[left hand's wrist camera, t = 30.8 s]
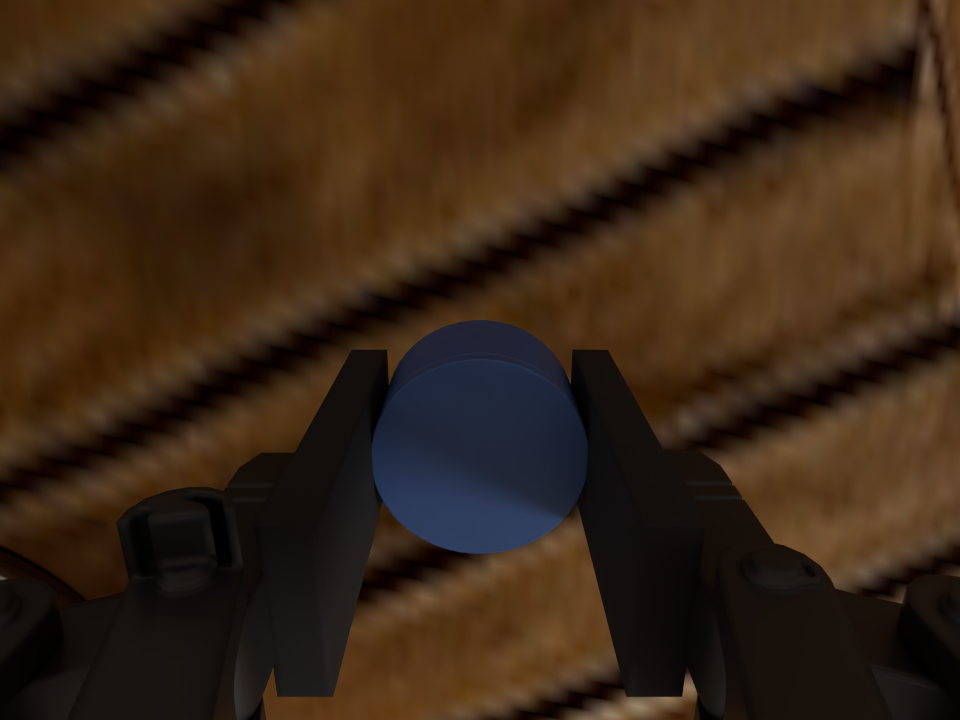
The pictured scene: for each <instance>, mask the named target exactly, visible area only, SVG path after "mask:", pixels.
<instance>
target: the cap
mask: <svg viewBox="0 0 960 720" xmlns="http://www.w3.org/2000/svg"><path fill="white" fill-rule="evenodd" d="M371 448H372V465H373V479H374V483H375V485H376V488H377V491H378V493H379V495H380V497H381V499H382V500H383V502H384V504H385V506H386V507H387V508H388V510H389V511H390V512H391V514H392V515H393V516H394V517H395V518H396V519H397V520H398V521H399V522H400V523H401V524H402V525H403V526H404V527H406V528H407V529H408V530H409V531H411V532H412V533H413V534H415V535H417V536H418V537H420V538H421V539H423V540H425V541H427V542H430V543H432V544H434V545H436V546H439V547H442V548H445V549H449V550H453V551H458V552H465V553H495V552H502V551H506V550H511V549H515V548H518V547H520V546H523V545H526V544H528V543H530V542H532V541H534V540H536V539H538V538H540V537H542V536H543V535H545V534H546V533H548V532H549V531H551V530H552V529H553V528H554V527H555V526H557V525H558V524H559V523H560V522H561V521H562V520H563V519H564V518H565V517H566V516H567V514H568V513H569V512H570V511H571V509H572V508H573V506H574V505H575V504H576V502H577V500H578V498H579V496H580V494H581V492H582V490H583V487H584V485H585V482H586V473H587V458H588V438H587V434H586V429H585V426H584V423H583V420H582V417H581V415H580V412H579V409H578V406H577V403H576V400H575V397H574V394H573V391H572V388H571V385H570V382H569V380H568V377H567V375H566V372H565V370H564V368H563V367H562V365H561V363H560V362H559V360H558V359H557V357H556V356H555V355H554V354H553V352H552V351H551V350H550V349H549V348H548V347H547V346H546V345H545V344H544V343H543V342H541V341H540V340H538V339H537V338H536V337H534V336H533V335H531V334H529V333H527V332H526V331H524V330H522V329H519V328H517V327H514V326H512V325H508V324H504V323H500V322H494V321H486V320H479V321H466V322H459V323H455V324H452V325H448V326H445V327H443V328H440V329H438V330H436V331H434V332H432V333H430V334H429V335H427V336H425V337H424V338H423V339H421V340H420V341H419V342H417V343H416V344H415V345H414V346H413V347H412V348H411V349H410V350H409V351H408V352H407V353H406V354H405V356H404V357H403V358H402V360H401V361H400V363H399V364H398V366H397V368H396V370H395V372H394V374H393V377H392V379H391V382H390V385H389V388H388V390H387V393H386V396H385V399H384V402H383V405H382V408H381V411H380V414H379V417H378V420H377V423H376V426H375V428H374V432H373V436H372V441H371Z"/></svg>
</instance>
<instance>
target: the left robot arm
mask: <svg viewBox="0 0 960 720" xmlns="http://www.w3.org/2000/svg"><path fill="white" fill-rule="evenodd" d="M388 388H389V380H388V360H387V350H352V351H351V352H350V354H349V356H348V358H347V360H346V361H345V363H344V365H343V367H342V369H341V370H340V372H339V374H338V376H337V378H336V379H335V381H334V383H333V385H332V387H331V388H330V390H329V392H328V394H327V396H326V397H325V399H324V401H323V403H322V405H321V406H320V408H319V410H318V412H317V414H316V415H315V417H314V419H313V421H312V423H311V424H310V426H309V428H308V430H307V432H306V433H305V435H304V437H303V439H302V441H301V442H300V444H299V446H298V448H297V450H296V451H295V453H261V454H259V455H258V456H256V457H255V458H253V459H252V460H250V461H249V462H247V463H246V464H244V465H243V466H241V467H240V468H239V469H238V471H237V472H236V474H235V475H234V476H233V478H232V479H231V481H230V482H229V484H228V488H225V489H224V491H221V490H217V489H213V488H209V487H187V488H182V489H176V490H171V491H166V492H163V493H160V494H158V495H155V496H152V497H150V498H147V499H144V500H143V501H141V502H139V503H138V504H136V505H135V506H133V507H131V508H130V509H128V510H127V511H126V512H125V513H124V514H123V515H122V516H121V518H120V519H119V520H118V521H117V522H116V523H117V528H118V532H119V537H120V541H121V546H122V550H123V555H124V559H125V564H126V568H127V573H128V577H129V582H128V584H127V586H126V589H125V591H124V592H121V593H118V594H114V595H110V596H107V597H102V598H97V599H93V600H88V601H83V600H82V599H81V598H80V597H79V596H77V595H76V594H75V593H74V592H72V591H71V590H70V589H68V588H67V587H65V586H64V585H63V584H61V583H60V582H58V581H57V580H55V579H54V578H52V577H50V576H49V575H47V574H46V573H44V572H42V571H41V570H39V569H37V568H35V567H33V566H32V565H30V564H28V563H26V562H24V561H22V560H20V559H18V558H16V557H13V556H11V555H9V554H6V553H4V552H2V551H0V720H266V716H265V709H264V702H263V693H264V690H265V687H266V685H267V682H268V679H269V677H270V674H271V671H272V669H273V668H274V675H275V682H276V689H277V696H278V697H333V695H334V691H335V687H336V683H337V679H338V675H339V671H340V667H341V663H342V659H343V655H344V652H345V648H346V644H347V640H348V636H349V632H350V628H351V624H352V620H353V616H354V612H355V608H356V604H357V600H358V596H359V592H360V589H361V585H362V581H363V577H364V573H365V569H366V565H367V561H368V557H369V553H370V549H371V545H372V541H373V537H374V533H375V529H376V525H377V522H378V518H379V514H380V510H381V506H382V502H383V500H382V499H381V497H380V495H379V493H378V491H377V488H376V485H375V483H374V479H373V465H372V448H371V441H372V436H373V432H374V428H375V426H376V423H377V420H378V417H379V414H380V411H381V408H382V405H383V402H384V399H385V396H386V393H387V390H388ZM571 388H572V391H573V394H574V397H575V400H576V403H577V406H578V409H579V412H580V415H581V417H582V420H583V423H584V426H585V429H586V434H587V438H588V458H587V473H586V482H585V485H584V487H583V490H582V492H581V494H580V496H579V498H578V500H577V503H578V507H579V511H580V515H581V519H582V523H583V527H584V531H585V535H586V539H587V543H588V547H589V551H590V555H591V559H592V563H593V567H594V570H595V574H596V578H597V582H598V586H599V590H600V594H601V598H602V602H603V606H604V610H605V614H606V618H607V622H608V626H609V630H610V634H611V637H612V641H613V645H614V649H615V653H616V657H617V661H618V665H619V669H620V673H621V677H622V681H623V685H624V689H625V693H626V697H682V693H683V686H684V679H685V672H686V664H687V667H688V669H689V672H690V675H691V677H692V680H693V683H694V685H695V688H696V690H697V693H698V695H697V702H696V709H695V715H694V720H960V577H957V576H946V575H936V574H933V575H928V576H922V577H917V578H916V579H914V580H913V581H912V582H911V583H910V584H909V585H907V588H906V592H905V595H904V599H903V603H902V604H900V603H896V602H891V601H886V600H881V599H876V598H871V597H867V596H862V595H857V594H853V593H849V592H845V591H842V590H838V589H835V587H834V585H833V583H832V581H831V579H830V578H829V576H828V575H827V574H826V572H825V571H824V570H823V568H822V567H821V566H820V565H819V564H817V563H816V562H814V561H813V560H812V559H810V558H809V557H807V556H806V555H805V554H803V553H800V552H798V551H796V550H793V549H791V548H789V547H786V546H784V545H779V544H775V543H774V542H773V541H772V539H771V538H770V536H769V535H768V533H767V532H766V531H765V529H764V528H763V526H762V525H761V523H760V522H759V520H758V519H757V518H756V516H755V515H754V513H753V512H752V510H751V509H750V507H749V506H748V505H747V503H746V502H745V500H742V496H741V495H740V493H739V492H738V490H737V489H736V487H735V486H732V482H731V480H730V479H729V477H728V476H727V474H726V473H725V472H724V470H723V469H722V467H721V466H720V465H719V464H717V463H716V462H714V461H713V460H711V459H710V458H708V457H707V456H705V455H704V454H702V453H701V452H699V451H663V449H662V447H661V445H660V443H659V442H658V440H657V438H656V436H655V434H654V432H653V431H652V429H651V427H650V425H649V423H648V422H647V420H646V418H645V416H644V414H643V413H642V411H641V409H640V407H639V405H638V404H637V402H636V400H635V398H634V396H633V395H632V393H631V391H630V389H629V387H628V386H627V384H626V382H625V380H624V378H623V377H622V375H621V373H620V371H619V369H618V368H617V366H616V364H615V362H614V360H613V359H612V357H611V355H610V353H609V351H608V350H573V352H572V371H571Z"/></svg>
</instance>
